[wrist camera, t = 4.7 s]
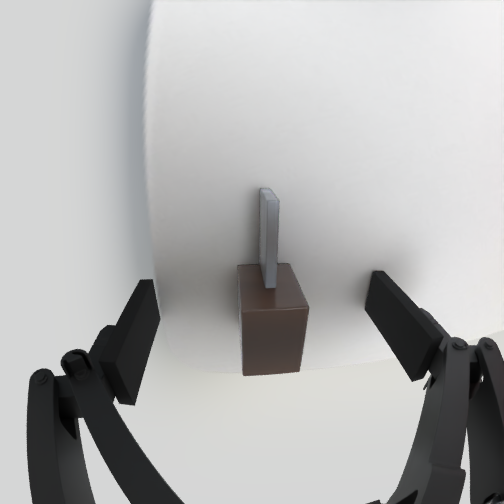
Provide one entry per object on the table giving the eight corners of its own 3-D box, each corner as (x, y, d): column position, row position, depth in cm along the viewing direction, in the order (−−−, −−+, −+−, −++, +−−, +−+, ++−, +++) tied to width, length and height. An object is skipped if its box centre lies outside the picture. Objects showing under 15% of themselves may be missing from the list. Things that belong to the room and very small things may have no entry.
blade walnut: (285, 322, 17) (299, 372, 13) (239, 324, 16) (242, 376, 12) (293, 188, 13) (319, 210, 10) (236, 188, 13) (239, 210, 9)
